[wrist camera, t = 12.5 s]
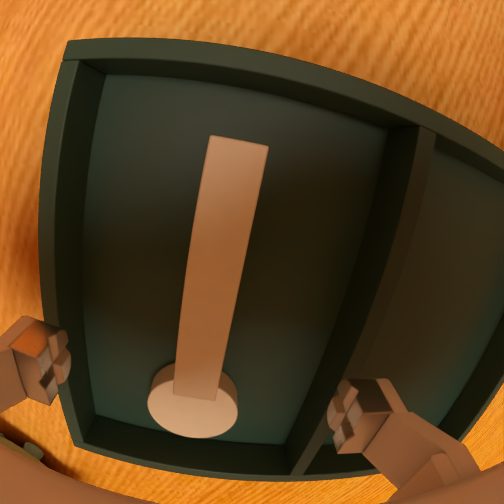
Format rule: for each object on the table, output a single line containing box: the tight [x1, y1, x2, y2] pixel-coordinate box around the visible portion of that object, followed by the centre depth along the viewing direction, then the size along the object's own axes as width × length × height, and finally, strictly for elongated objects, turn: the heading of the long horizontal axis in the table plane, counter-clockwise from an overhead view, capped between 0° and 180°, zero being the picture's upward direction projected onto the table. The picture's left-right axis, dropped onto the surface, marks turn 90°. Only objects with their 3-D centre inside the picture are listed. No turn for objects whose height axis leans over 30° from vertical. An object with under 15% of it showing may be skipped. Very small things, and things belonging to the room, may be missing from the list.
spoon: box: [147, 135, 269, 438], centre depth 12 cm, size 14×4×2 cm, turn 168°
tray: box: [38, 38, 504, 482], centre depth 13 cm, size 20×26×3 cm
